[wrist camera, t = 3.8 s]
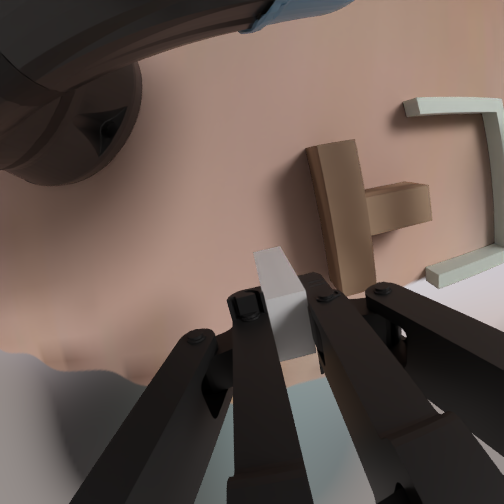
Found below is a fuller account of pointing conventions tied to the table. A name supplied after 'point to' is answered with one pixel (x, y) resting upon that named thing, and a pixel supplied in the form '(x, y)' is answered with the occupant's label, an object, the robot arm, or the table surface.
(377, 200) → the tee block
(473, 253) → the green u-shaped bracket
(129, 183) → the table surface
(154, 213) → the table surface
